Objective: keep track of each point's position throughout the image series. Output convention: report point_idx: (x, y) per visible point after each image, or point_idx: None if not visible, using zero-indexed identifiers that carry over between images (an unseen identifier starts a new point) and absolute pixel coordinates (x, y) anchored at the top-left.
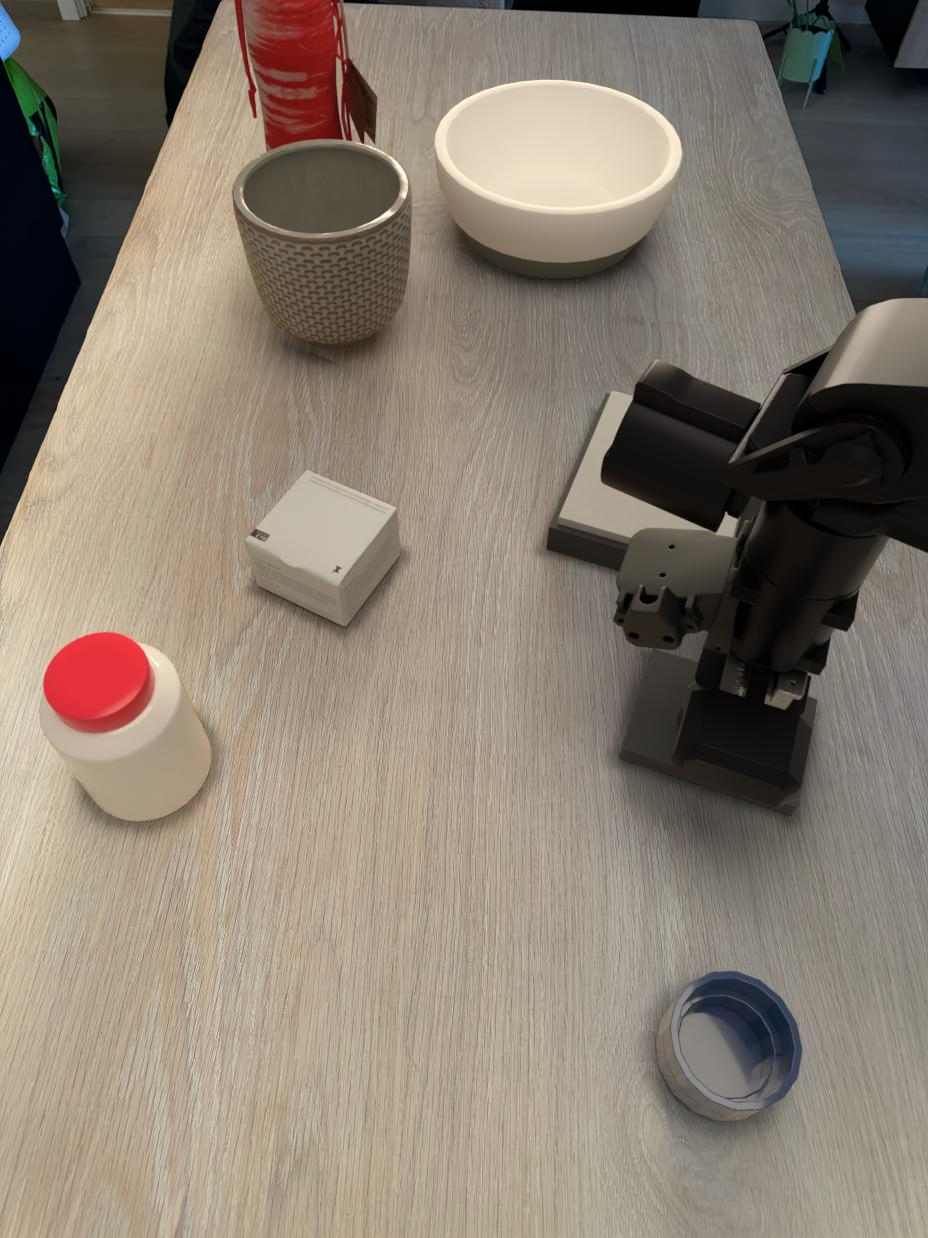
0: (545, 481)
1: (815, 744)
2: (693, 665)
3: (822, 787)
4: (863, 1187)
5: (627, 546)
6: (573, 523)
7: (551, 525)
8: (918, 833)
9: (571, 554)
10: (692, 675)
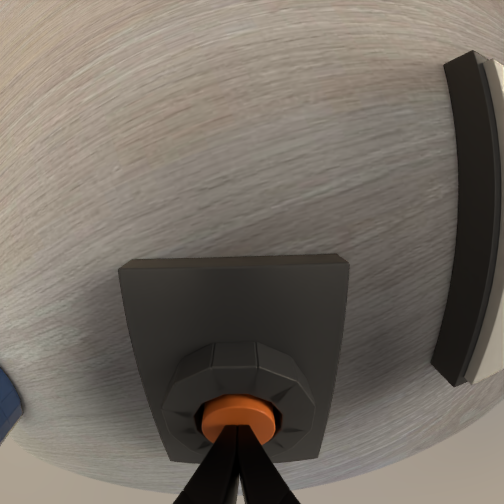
0: None
1: None
2: (332, 338)
3: None
4: (17, 439)
5: (498, 171)
6: (495, 80)
7: (476, 53)
8: None
9: (453, 96)
10: (312, 342)
